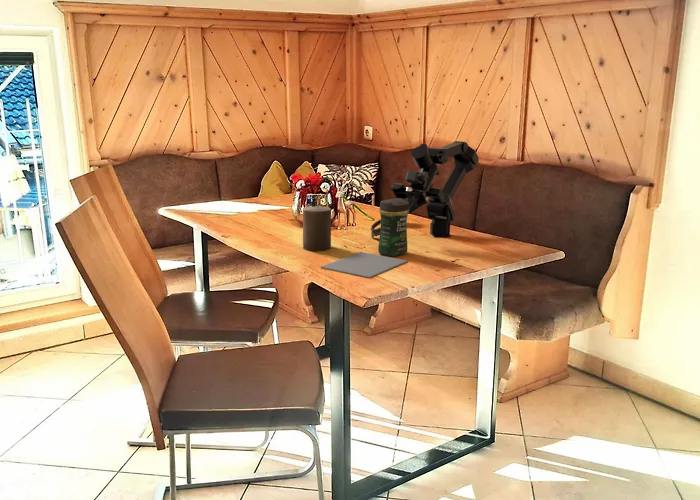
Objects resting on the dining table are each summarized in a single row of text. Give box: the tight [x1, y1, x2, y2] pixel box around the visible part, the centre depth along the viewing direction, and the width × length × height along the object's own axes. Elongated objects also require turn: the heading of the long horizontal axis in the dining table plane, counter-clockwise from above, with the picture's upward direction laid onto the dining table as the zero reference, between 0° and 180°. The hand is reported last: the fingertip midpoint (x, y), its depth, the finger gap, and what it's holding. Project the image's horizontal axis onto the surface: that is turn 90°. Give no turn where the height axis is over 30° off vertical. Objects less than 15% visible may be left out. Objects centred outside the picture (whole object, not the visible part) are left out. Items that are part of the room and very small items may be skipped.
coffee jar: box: [377, 197, 409, 257], centre depth 214 cm, size 10×8×19 cm
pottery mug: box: [370, 218, 381, 239], centre depth 237 cm, size 12×10×8 cm
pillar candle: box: [302, 204, 332, 252], centre depth 221 cm, size 10×10×15 cm
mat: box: [320, 251, 409, 279], centre depth 203 cm, size 22×18×1 cm
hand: (408, 212), depth 220 cm, fingers closed
